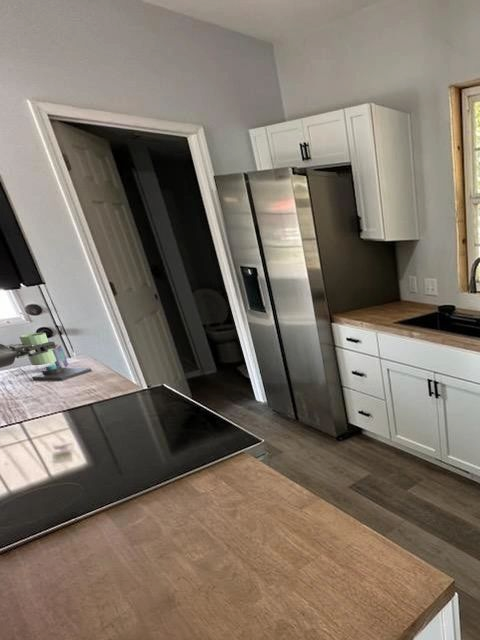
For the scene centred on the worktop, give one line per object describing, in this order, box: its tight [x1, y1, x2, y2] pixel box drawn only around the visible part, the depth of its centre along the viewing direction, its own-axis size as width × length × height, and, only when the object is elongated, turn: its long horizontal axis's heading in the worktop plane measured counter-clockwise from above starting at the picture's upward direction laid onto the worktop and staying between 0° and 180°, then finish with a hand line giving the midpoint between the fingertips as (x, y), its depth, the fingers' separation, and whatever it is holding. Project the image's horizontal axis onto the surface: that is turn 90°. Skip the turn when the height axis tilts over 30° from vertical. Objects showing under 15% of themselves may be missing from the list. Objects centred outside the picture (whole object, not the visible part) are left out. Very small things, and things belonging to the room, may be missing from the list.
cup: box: [18, 332, 57, 366], centre depth 141 cm, size 6×6×10 cm
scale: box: [31, 366, 93, 382], centre depth 165 cm, size 13×11×3 cm
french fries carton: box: [52, 342, 69, 368], centre depth 174 cm, size 9×3×11 cm, turn 37°
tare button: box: [45, 364, 57, 370], centre depth 164 cm, size 3×3×2 cm
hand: (45, 344), depth 143 cm, fingers closed on cup, 6 cm apart
